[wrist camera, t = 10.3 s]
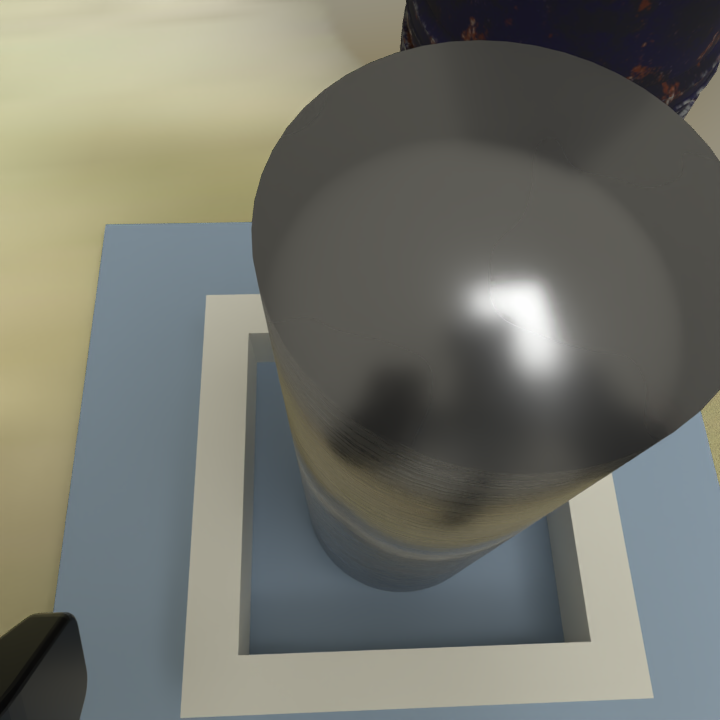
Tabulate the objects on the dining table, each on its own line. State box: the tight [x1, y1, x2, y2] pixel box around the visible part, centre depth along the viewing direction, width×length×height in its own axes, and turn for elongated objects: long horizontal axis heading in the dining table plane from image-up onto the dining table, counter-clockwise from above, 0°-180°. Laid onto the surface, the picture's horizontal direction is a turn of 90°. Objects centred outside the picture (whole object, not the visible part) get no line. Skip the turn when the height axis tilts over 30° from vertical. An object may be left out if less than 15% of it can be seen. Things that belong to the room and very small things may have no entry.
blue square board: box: [53, 222, 720, 720], centre depth 18 cm, size 18×18×3 cm
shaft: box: [251, 40, 720, 592], centre depth 13 cm, size 5×5×13 cm
